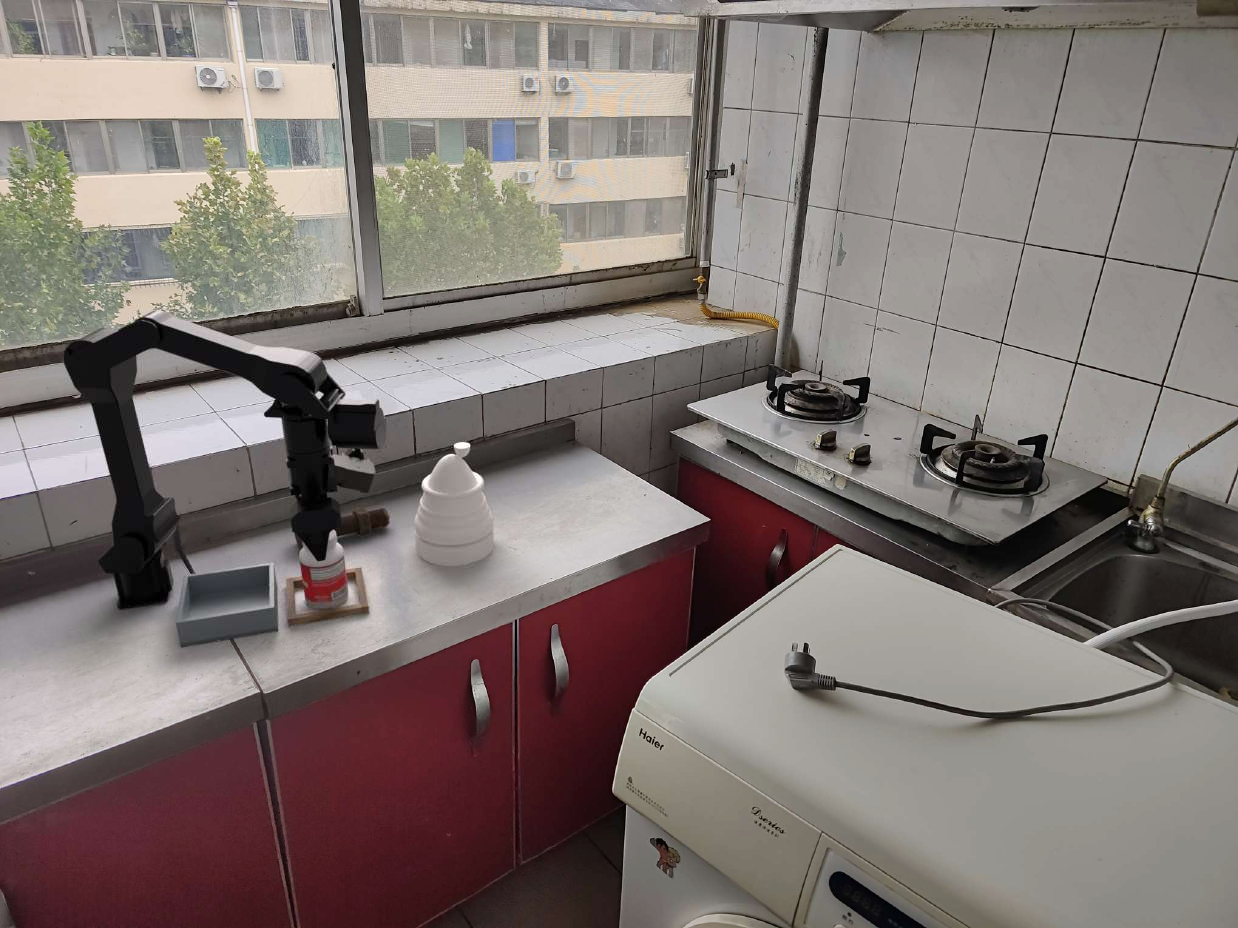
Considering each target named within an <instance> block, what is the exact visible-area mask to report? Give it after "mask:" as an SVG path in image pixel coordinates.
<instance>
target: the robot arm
mask: <svg viewBox="0 0 1238 928" xmlns="http://www.w3.org/2000/svg"><path fill="white" fill-rule="evenodd" d="M150 349H156V350H160V351H161V352H165V353H168V354H171V355H173V356H178V357H180V358H183V359H186V360H189V361H191V362H195V363H198V364H201V365H203V366H207V367H210V368H212V369H216V370H219V371H221V372H225V373H227V374H229V375H233V376H236V377H239V378H242V379H243V380H246V381H248V382H250V383H251V384H252V385H254V386H255V388H257V389H258V390H259V391H260V392H261V393H263V394H264V395H266V396H268V397H270V398H272V399H273V403H272V405H271V406H269V407H268V408H267V409H266V410H265V411H264V412H263V416H264V417H265V418H272V419H273V418H274V419H275V418H277V419H281V427H282V433H283V440H284V448H285V457H286V458H285V460H286V467H287V473H288V481H289V491H290V496H294V497H295V499H296V501H295V502H294V503H293V504H292V505H291V506H290V508H289V511H290V513H289V514H290V516H289V517H290V525H291V532H292V533H295V534H297V535H298V536H299V538H300V539H301V540H302V541H303V543H304V544H305V545H306V547H307V548H308V549H309V551H310V552H311V553H312V555H313V556H314V557H315V559H316V560H317V561H324V560H325V559H326V553H327V546H328V540H329V534H330V532H331V531H332V530H335V529H337V528H339V527H340V526H342V523H341V517H342V515H341V509H340V508H341V507H340V503H339V501H338V500H336V499H334V498H333V497H331V496H330V497H328V494H329V493H330V494H332V493H338V492H339V491H338V487H339V488H343V489H347V490H351V491H352V490H353V491H359V493H362V494H368V493H370V492H371V489H372V485H373V482H374V479H375V476H376V472H377V471H376V468H375V464H374V462H373V461H372V460H370V459H371V458H368V457H367V458H366V459H365V455H364V451H363V450H380V451H381V450H382V449H383V448H384V445H385V441H386V438H387V437H386V436H387V417H386V416H385V415H384V410H383V408H382V407H381V406H380V400H379V399H376V398H368V399H345V396H346V392H345V391H344V390H343V388H341V386H340V385H339V384H338V383H337V382H336V381H335V380H334V378H333V377H332V376H331V375H330V374H329V373H328V371H327V367H326V365H325V363H324V362H323V359H322V358H321V357H320V356H319V355H317V354H315V353H313V352H312V351H308V350H307V351H306V350H304V349H303V350H302V349H297V348H290V347H284V346H282V347H279V346H264V345H263V346H262V345H258V344H254V343H253V342H249V341H246V340H243V339H240V338H237V337H234V336H231V335H228V334H226V333H224V332H220V331H216V330H214V329H211V328H208V327H205V326H203V325H199V324H197V323H193V322H191V321H188V320H185V319H183V318H179V317H177V316H173V314H172V313H170V312H168V311H165V310H160V309H157V310H152V311H150V312H148V313H147V314H145V315H143V316H141V317H138V318H137V319H136V320H134V321H133V322H131V323H129V324H127V325H124V326H123V327H120V328H118V329H117V328H114V327H109V326H107V327H101V328H97V329H96V330H93V331H92V332H90V333H88V334H86V335H84V336H81V337H80V338H78V339H76V340H74V341H72V342H70V343H69V344H68V345H67V346H66V348H65V349H64V350H63V352H62V362H63V365H64V368H65V370H66V372H67V374H68V375H69V378H70V381H71V384H72V385H73V387H74V388H75V389H76V391H78V393H80V394H81V395H82V396H83V397H84V398H85V399H86V400H87V401H88V402H89V404H90V406H91V409H92V413H93V416H94V420H95V425H96V428H97V432H98V436H99V439H100V443H101V447H102V452H103V454H104V457H105V462H106V465H107V469H108V474H109V477H110V481H111V484H112V489H113V493H114V497H115V505H114V510H113V515H112V519H111V536H112V546H111V548H109V550H107V551H106V552H105V554H104V555H102V556H101V558H100V559H99V560H98V564H99V566H100V567H101V568H102V569H103V572H104V573H105V574H112V576H113V580H114V582H115V587H116V592H117V596H118V600H117V604H116V605H117V608H118V609H119V610H120V609H127V608H133V607H140V606H148V605H155V604H160V603H166V602H168V601H169V597H170V593H171V591H173V587H174V576H173V572H172V568H171V563H170V560H169V559H168V558H165V555H164V551H163V549H162V548H163V547H165V546H166V545H167V544H168V540H169V539H170V537H171V536H172V535H173V534H175V532H176V530H177V526H178V525H177V524H178V523H179V522H180V521H181V518H180V517H179V515H178V514H177V510H176V501H175V497H172V496H171V497H164V496H162V495H161V494H160V493H159V492H158V491H157V490H156V488H155V486H154V481H153V476H152V473H151V469H150V464H149V461H148V456H147V451H146V447H145V444H144V439H143V435H142V430H141V426H140V423H139V419H138V415H137V412H136V411H137V410H136V407H135V403H134V398H133V391H134V387H135V383H136V378H137V375H138V373H137V372H138V365H137V364H138V361H137V359H138V358H137V356H138V355H140V354H141V353H144V352H146V351H149V350H150ZM317 393H321V394H322V396H321V397H320V398H319V397H318V396H317ZM330 441H331V444H330ZM333 447H337V448H338V449H347V450H346V451H345V452H341V454H334V451H333ZM295 534H294V535H295Z"/></svg>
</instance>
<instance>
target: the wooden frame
mask: <svg viewBox="0 0 1238 928" xmlns="http://www.w3.org/2000/svg"><path fill="white" fill-rule="evenodd" d="M346 577H347V580H353V579H355V580H356V586H357V593H358V599H359V603H357V604H350V605H343V606H337V607H334V608H330V609H317V610H313V611H308V612H307V611H306V612H302V613H301V612H300V613H297V612H296V597H295V595H296V593H295V588H300V587H301V588H302V587H303V581H302V575H301V576H296V577H289V578H285V582H286V583H285V584H286V586H285V587H286V611H287V612H286V614H287V623H288V627H295V626H300V625H305V624H312V623H318V622H324V621H329V620H330V621H331V620H336V619H340V618H347V617H348V618H349V617H355V616H359V615H366V614H370V608H369V607H370V606H369V602H368V601H369V600H368V596H367V595H368V594H367V591H366V585H365V580H364V574H363V570H362V567H361V566H360V567H355V568H348V569H347V568H346Z"/></svg>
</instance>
